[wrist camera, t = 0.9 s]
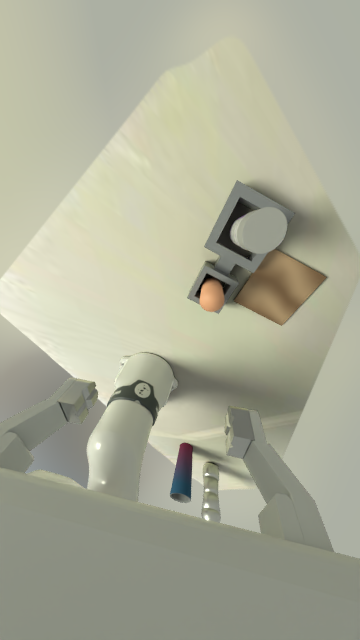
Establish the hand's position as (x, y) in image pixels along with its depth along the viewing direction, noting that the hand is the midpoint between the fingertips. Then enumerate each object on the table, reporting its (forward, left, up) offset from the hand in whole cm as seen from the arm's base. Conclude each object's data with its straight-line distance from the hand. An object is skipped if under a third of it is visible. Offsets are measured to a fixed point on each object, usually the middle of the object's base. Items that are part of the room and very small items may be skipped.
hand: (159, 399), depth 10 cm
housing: (+7, -3, -30) cm, 31 cm away
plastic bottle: (-67, -41, -30) cm, 84 cm away
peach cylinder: (0, -3, -28) cm, 28 cm away
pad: (+5, -15, -30) cm, 34 cm away
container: (+11, -3, -30) cm, 32 cm away
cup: (-62, -27, -30) cm, 74 cm away
